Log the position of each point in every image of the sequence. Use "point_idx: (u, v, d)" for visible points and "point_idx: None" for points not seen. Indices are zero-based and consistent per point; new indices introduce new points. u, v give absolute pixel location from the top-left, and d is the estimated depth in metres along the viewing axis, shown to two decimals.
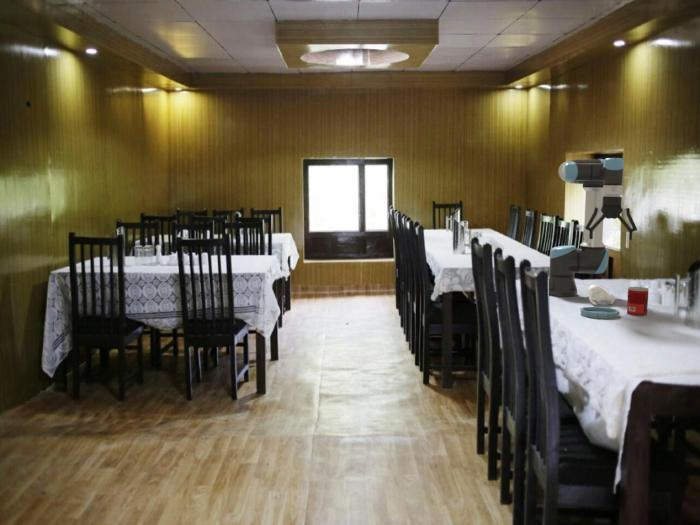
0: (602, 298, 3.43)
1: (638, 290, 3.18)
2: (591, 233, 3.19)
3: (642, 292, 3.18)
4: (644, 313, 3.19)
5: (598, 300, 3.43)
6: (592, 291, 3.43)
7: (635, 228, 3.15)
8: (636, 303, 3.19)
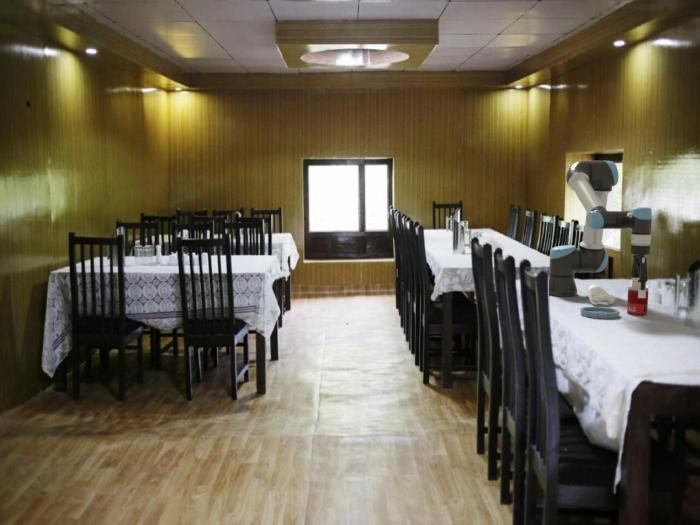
0: (602, 298, 3.43)
1: None
2: None
3: None
4: (644, 313, 3.19)
5: (598, 300, 3.43)
6: (592, 291, 3.43)
7: (640, 278, 3.11)
8: (636, 303, 3.19)
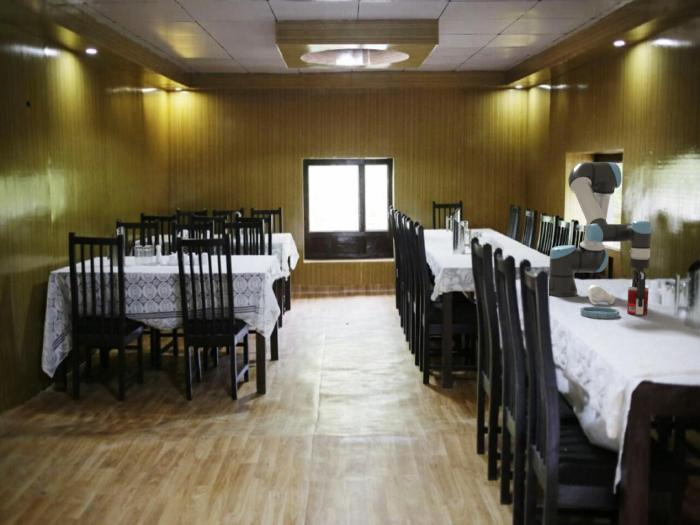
0: (602, 298, 3.43)
1: None
2: None
3: None
4: (644, 313, 3.19)
5: (598, 300, 3.43)
6: (592, 291, 3.43)
7: (638, 295, 3.15)
8: None
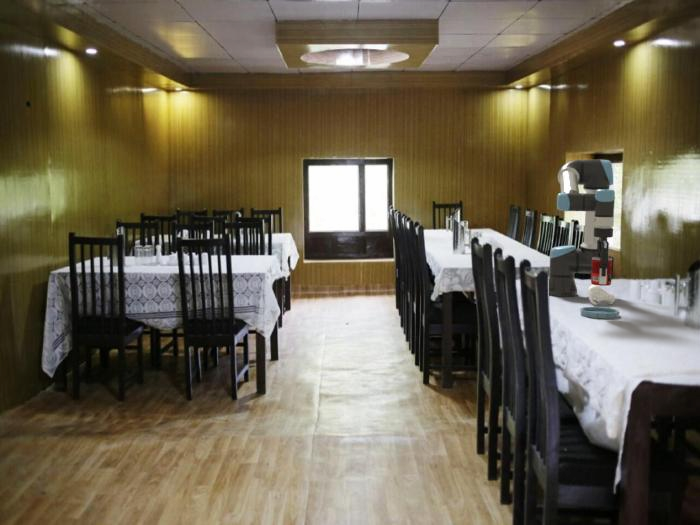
0: (602, 298, 3.43)
1: None
2: None
3: None
4: (608, 283, 3.14)
5: (598, 300, 3.43)
6: (592, 291, 3.43)
7: (601, 265, 3.10)
8: None
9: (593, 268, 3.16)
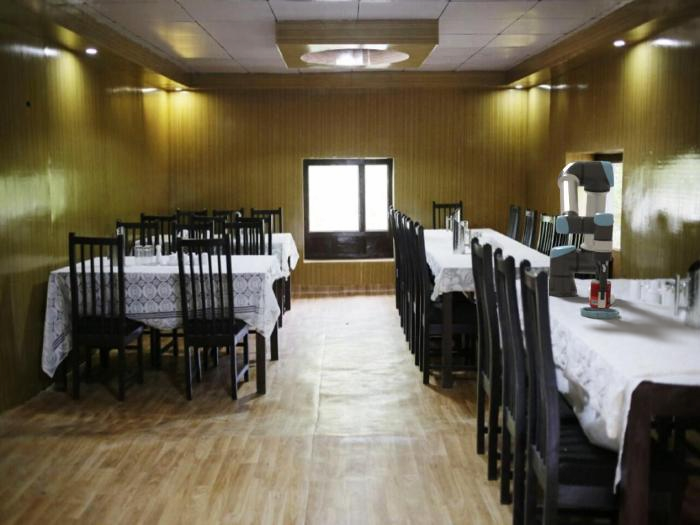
0: None
1: None
2: None
3: None
4: (607, 306, 3.15)
5: None
6: None
7: (600, 288, 3.11)
8: None
9: (592, 291, 3.17)
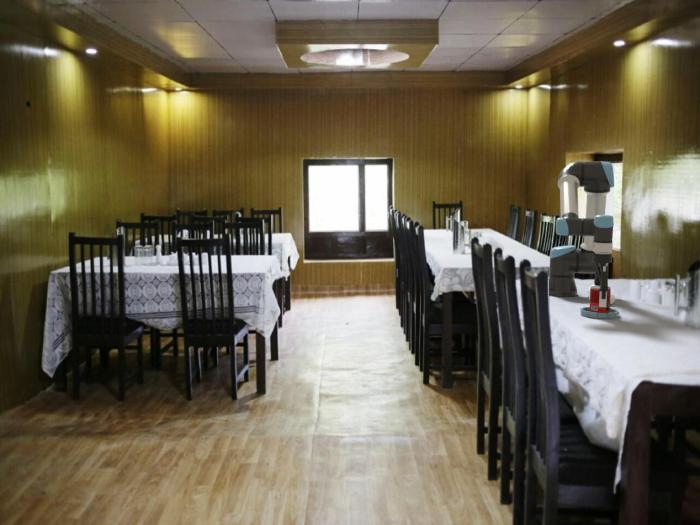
0: None
1: None
2: None
3: None
4: (606, 312, 3.16)
5: None
6: None
7: (601, 287, 3.09)
8: None
9: (592, 297, 3.17)
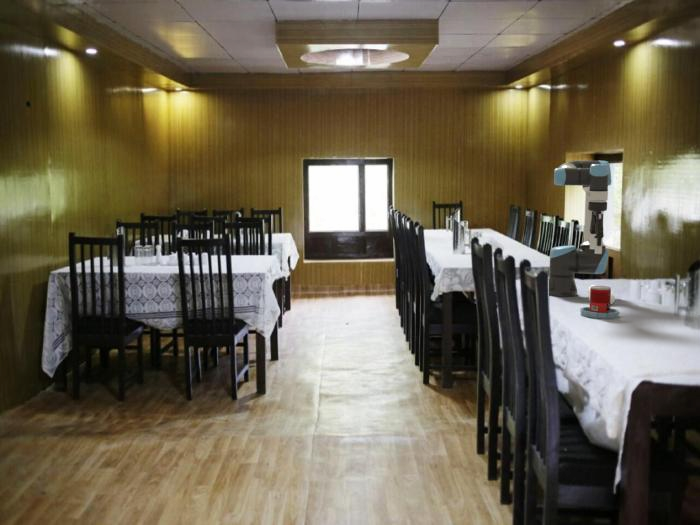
0: None
1: (601, 289, 3.14)
2: None
3: (604, 291, 3.14)
4: (606, 312, 3.16)
5: None
6: None
7: (597, 234, 3.17)
8: (599, 302, 3.15)
9: (592, 297, 3.17)
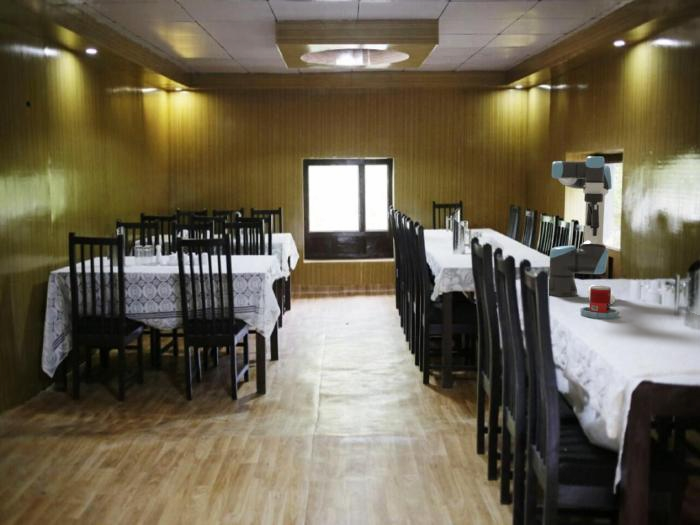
0: None
1: (601, 289, 3.14)
2: None
3: (604, 291, 3.14)
4: (607, 312, 3.16)
5: None
6: None
7: (592, 224, 3.23)
8: (599, 302, 3.15)
9: (592, 297, 3.17)
